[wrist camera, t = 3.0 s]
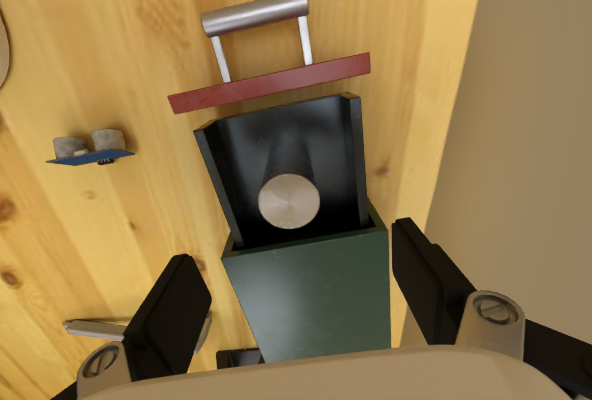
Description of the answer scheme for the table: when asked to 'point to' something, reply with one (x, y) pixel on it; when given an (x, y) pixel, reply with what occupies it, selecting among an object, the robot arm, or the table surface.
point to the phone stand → (239, 358)
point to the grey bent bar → (119, 330)
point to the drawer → (281, 131)
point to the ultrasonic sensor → (76, 151)
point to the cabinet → (316, 292)
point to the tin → (289, 187)
